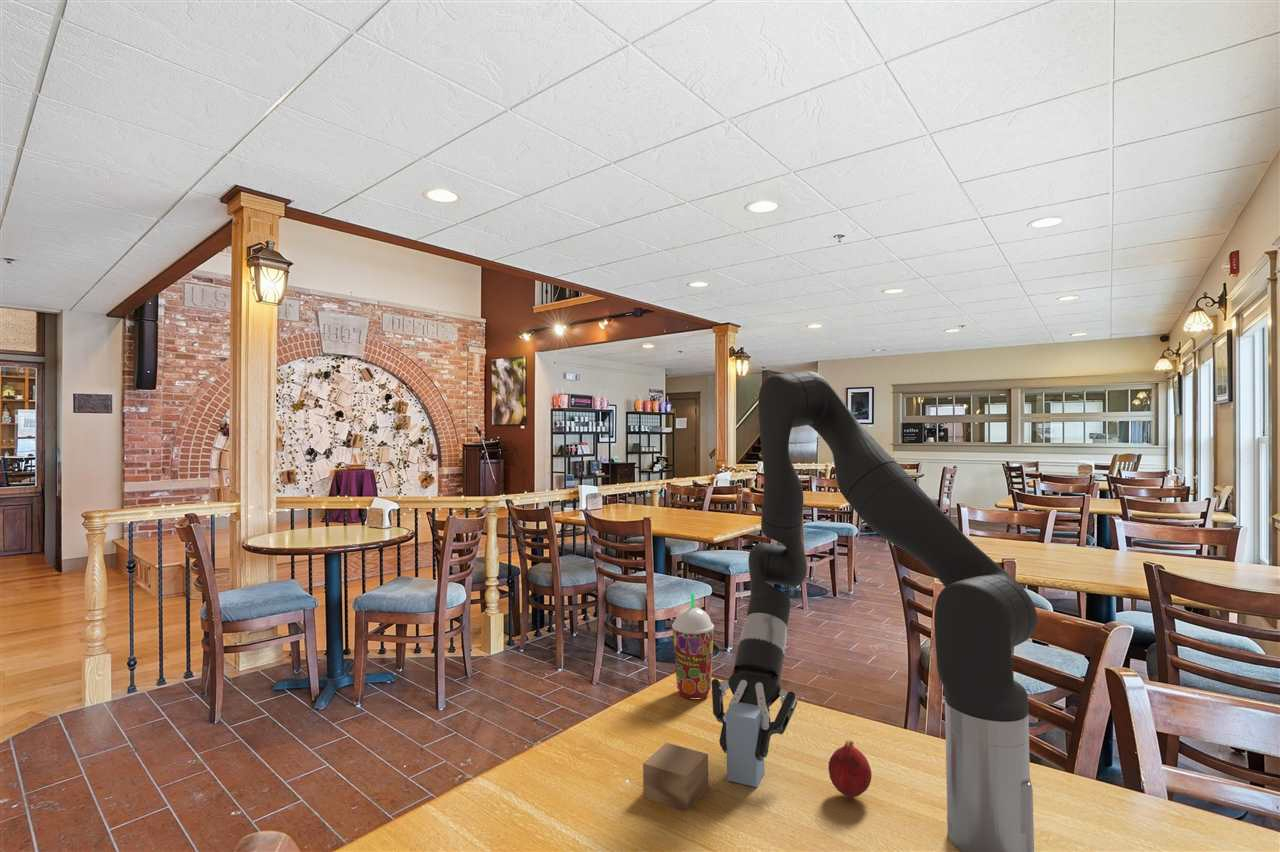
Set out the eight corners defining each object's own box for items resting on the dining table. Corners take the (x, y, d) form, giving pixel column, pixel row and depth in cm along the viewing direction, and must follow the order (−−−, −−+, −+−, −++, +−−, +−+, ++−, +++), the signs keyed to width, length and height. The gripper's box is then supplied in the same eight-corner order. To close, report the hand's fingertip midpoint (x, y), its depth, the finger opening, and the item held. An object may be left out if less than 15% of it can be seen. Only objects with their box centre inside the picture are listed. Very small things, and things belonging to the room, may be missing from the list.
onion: (875, 812, 85) (873, 753, 85) (831, 807, 86) (830, 749, 86) (868, 788, 90) (867, 733, 90) (827, 784, 91) (826, 729, 92)
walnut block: (708, 788, 91) (707, 754, 91) (687, 813, 85) (686, 776, 85) (666, 775, 95) (666, 742, 95) (643, 798, 89) (643, 763, 89)
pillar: (764, 772, 95) (763, 706, 95) (756, 787, 91) (755, 718, 91) (736, 765, 97) (734, 701, 97) (727, 780, 93) (725, 713, 93)
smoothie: (668, 700, 121) (667, 597, 122) (678, 683, 129) (677, 587, 130) (710, 705, 119) (709, 600, 119) (718, 688, 127) (716, 590, 127)
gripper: (715, 631, 104) (690, 735, 93) (801, 642, 98) (785, 755, 87) (725, 652, 109) (703, 754, 97) (808, 664, 102) (794, 775, 91)
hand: (741, 754), depth 92 cm, fingers closed on pillar, 4 cm apart
